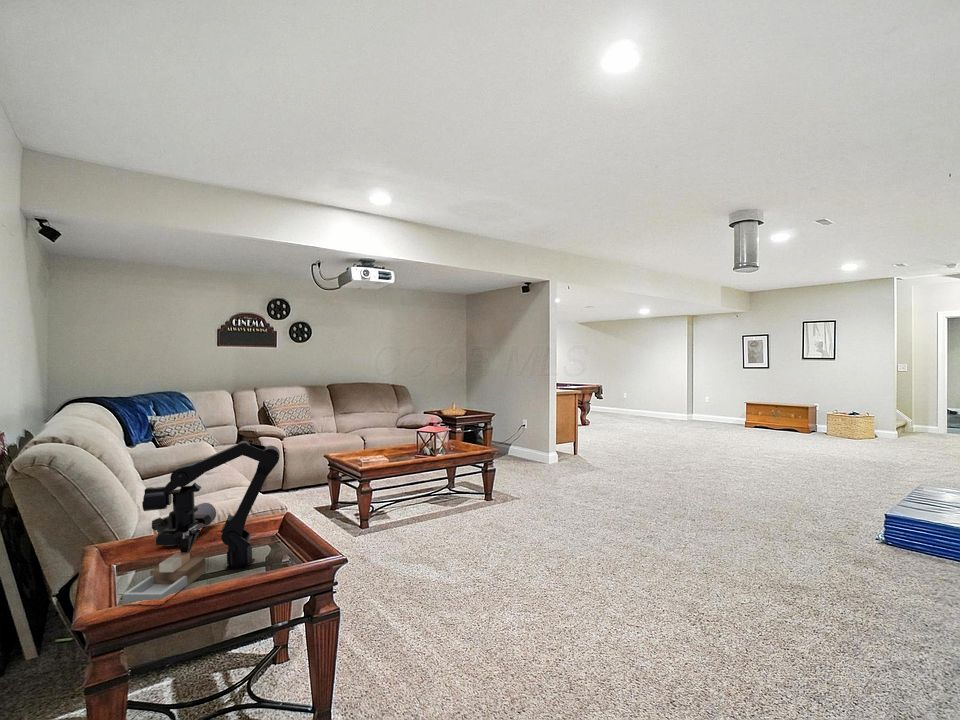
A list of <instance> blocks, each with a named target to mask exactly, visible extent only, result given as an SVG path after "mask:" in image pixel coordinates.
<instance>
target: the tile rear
mask: <svg viewBox="0 0 960 720" xmlns="http://www.w3.org/2000/svg"><path fill="white" fill-rule="evenodd" d="M190 553H191V552H190ZM190 553H184V552H181V551H180V552H175V553H174V554H173V555H170V556H169V557H168V558H181V564H182V566H183V565H184V564H186V563H187V562H189V561H190V558H191V556H190V555H191V554H190Z"/></svg>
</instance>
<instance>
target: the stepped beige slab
mask: <svg viewBox="0 0 960 720" xmlns="http://www.w3.org/2000/svg"><path fill="white" fill-rule="evenodd" d="M149 573H150V575H149V576H154V584H173V583H175V582H176V581H177V580H179V579H180V578H181V577H183V576H187V587H188V586H189V585H191V584H192V583H193V582H195V581H196V580H198V579H199V578H200V577H202V576H203V574H205V573H206V558H205V557H190V561H189V562H187V563H186V564H184V565H183V566H181V567H180V568H178V569H177V570H175V571H174V572H159V565H157V566H156V567H154V568H152V569H151V570H150V572H149Z"/></svg>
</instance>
